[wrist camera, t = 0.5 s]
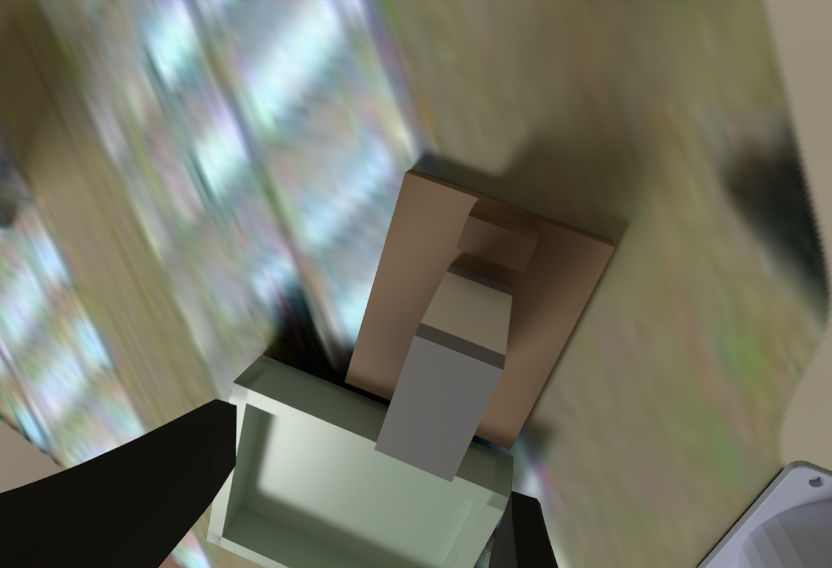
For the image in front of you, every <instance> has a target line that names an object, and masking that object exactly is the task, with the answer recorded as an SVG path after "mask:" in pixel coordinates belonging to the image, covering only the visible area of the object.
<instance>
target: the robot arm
mask: <svg viewBox="0 0 832 568" xmlns="http://www.w3.org/2000/svg"><path fill="white" fill-rule="evenodd" d="M236 436H237V405H234V404H231V403H228V402H225V401H221V400H218V399H215V400H213V401H211V402H209V403H206V404H204V405H202V406H200V407H198V408H196V409H195V410H193V411H191V412H189V413H187V414H185V415H183V416H181V417H179V418H177V419H175V420H173V421H171V422H169V423H167V424H165V425H163V426H161V427H159V428H157V429H155V430H153V431H151V432H149V433H147V434H145V435H143V436H141V437H139V438H137V439H135V440H133V441H131V442H128V443H126V444H124V445H122V446H120V447H117V448H115V449H113V450H111V451H108V452H106V453H104V454H102V455H100V456H97V457H95V458H93V459H91V460H88V461H86V462H84V463H81V464H79V465H77V466H74V467H72V468H69V469H67V470H64V471H62V472H59V473H57V474H54V475H51V476H49V477H46V478H43V479H41V480H38V481H36V482H33V483H30V484H27V485H24V486H21V487H19V488H16V489H12V490H9V491H6V492H3V493H0V568H158V567H159V566H160V565H161V564H162V563H163V561H164V560H165V559H166V558H167V556H168V555H169V554H170V553H171V552H172V550H173V549H174V548H175V547H176V546H177V544H178V543H179V542H180V541H181V540H182V538H183V537H184V536H185V535H186V533H187V532H188V531H189V530H190V529H191V527H192V526H193V525H194V524H195V522H196V521H197V520H198V519H199V518H200V516H201V515H202V514H203V513H204V511H205V510H206V509H207V508H208V506H209V505H210V504H211V503H212V501H213V500H214V498H215V497H216V495H217V494H218V492H219V491H220V489H221V488H222V486H223V485H224V483H225V482H226V480H227V478H228V477H229V475H230V474H231V472H232V470H233V469H234V467H235V466H236ZM813 477H818V478H817V479H815V480H810V479H811V478H813ZM489 568H558V565H557V562H556V559H555V556H554V553H553V549H552V546H551V543H550V540H549V536H548V533H547V529H546V526H545V522H544V518H543V514H542V510H541V505H540V503H539V501H538V500H537V499H536V498H533V497H530V496H526V495H523V494H520V493H517V492H513V491H511V493H510V496H509V499H508V502H507V505H506V508H505V511H504V514H503V517H502V520H501V523H500V526H499V529H498V532H497V535H496V538H495V540H494V543H493V546H492V549H491V556H490V562H489ZM698 568H832V471H830V470H827V469H824V468H822V467H819V466H817V465H814V464H812V463H809V462H806V461H794V462H792V463H790V464H789V465H787V466H786V467H785V468H784V470H783V471H782V472H781V473H780V474H779V475H778V476H777V478H776V479H775V480H774V481H773V482H772V483H771V484H770V486H769V487H768V488H767V489H766V490H765V491H764V492H763V494H762V495H761V496H760V497H759V498H758V499H757V500H756V502H755V503H754V504H753V505H752V506H751V507H750V508H749V510H748V511H747V512H746V513H745V514H744V515H743V516H742V518H741V519H740V520H739V521H738V522H737V523H736V524H735V526H734V527H733V528H732V529H731V530H730V531H729V532H728V534H727V535H726V536H725V537H724V538H723V539H722V540H721V542H720V543H719V544H718V545H717V546H716V547H715V548H714V550H713V551H712V552H711V553H710V554H709V555H708V556H707V558H706V559H705V560H704V561H703V562H702V563H701V564H700V566H699V567H698Z"/></svg>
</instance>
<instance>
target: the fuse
mask: <svg viewBox="0 0 832 568" xmlns="http://www.w3.org/2000/svg"><path fill="white" fill-rule="evenodd" d="M512 295H513V288H512V287H509V286H506V285H504V284H501V283H498V282H496V281H493V280H490V279H488V278H485V277H482V276H480V275H477V274H474V273H472V272H469V271H466V270H464V269H461V268H458V267H456V266H453V265H449V267H448V269H447V271H446V273H445V275H444V277H443V279H442V281H441V283H440V285H439V287H438V289H437V291H436V293H435V295H434V297H433V299H432V301H431V303H430V305H429V307H428V309H427V311H426V313H425V315H424V317H423V319H422V321H421V323H420V325H419V327H418V329H417V331H416V333H415V334H414V337H413V340H412V343H411V346H410V349H409V351H408V354H407V357H406V360H405V363H404V366H403V369H402V371H401V374H400V377H399V380H398V383H397V386H396V388H395V391H394V394H393V397H392V400H391V403H390V406H389V408H388V411H387V414H386V417H385V420H384V423H383V426H382V428H381V431H380V434H379V437H378V440H377V443H376V446H375V448H374V450H376V451H378V452H381V453H383V454H385V455H388V456H390V457H392V458H395V459H397V460H400V461H402V462H404V463H407V464H409V465H411V466H414V467H416V468H419V469H421V470H423V471H426V472H428V473H430V474H433V475H435V476H438V477H440V478H442V479H445V480H447V481H449V482H452V481H453V479H454V477H455V474H456V472H457V470H458V468H459V466H460V464H461V462H462V459H463V457H464V455H465V453H466V451H467V449H468V447H469V444H470V442H471V440H472V438H473V436H474V434H475V431H476V429H477V427H478V425H479V423H480V421H481V419H482V416H483V414H484V412H485V410H486V408H487V406H488V403H489V401H490V399H491V397H492V395H493V393H494V391H495V388H496V386H497V384H498V382H499V380H500V378H501V376H502V373H503V371H504V366H505V357H506V348H507V339H508V330H509V322H510V313H511V304H512Z"/></svg>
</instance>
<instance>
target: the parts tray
mask: <svg viewBox="0 0 832 568" xmlns="http://www.w3.org/2000/svg"><path fill="white" fill-rule="evenodd" d="M229 403H231V404H234V405H237V436H236V466H235V467H234V469H233V470H232V472H231V474H230V475H229V477H228V478H227V480H226V482H225V483H224V485H223V486H222V488H221V489H220V491H219V492H218V494H217V495H216V497H215V498H214V500H213V505H212V511H211V517H210V523H209V530H208V536H207V541H209V542H211V543H213V544H216V545H218V546H220V547H222V548H224V549H226V550H229V551H231V552H233V553H235V554H237V555H240V556H242V557H244V558H246V559H248V560H251V561H253V562H255V563H257V564H259V565H262V566H264V567H266V568H473V567H474V565H475V563H476V561H477V560H478V558H479V556H480V554H481V552H482V551H483V549H484V547H485V545H486V543H487V542H488V540H489V538H490V536H491V534H492V533H493V531H494V529H495V527H496V525H497V523H498V522H499V520H500V518H501V516H502V514H503V513H504V511H505V508H506V505H507V502H508V499H509V496H510V493H511V490H512V474H513V457H511V456H508V455H506V454H503V453H501V452H499V451H496V450H494V449H491V448H489V447H486V446H484V445H481V444H479V443H477V442H474V441H472V440H471V442H470V444H469V447H468V449H467V451H466V453H465V455H464V457H463V459H462V462H461V464H460V466H459V468H458V470H457V472H456V474H455V477H454V479H453V481H452V482H449V481H447V480H445V479H442V478H440V477H438V476H435V475H433V474H430V473H428V472H426V471H423V470H421V469H419V468H416V467H414V466H411V465H409V464H407V463H404V462H402V461H400V460H397V459H395V458H392V457H390V456H388V455H385V454H383V453H381V452H378V451H376V450H374V448H375V446H376V443H377V440H378V437H379V434H380V431H381V428H382V426H383V423H384V420H385V417H386V414H387V411H388V408H389V406H386V405H384V404H382V403H379V402H377V401H374V400H372V399H369V398H367V397H364V396H362V395H360V394H357V393H355V392H352V391H350V390H347V389H345V388H343V387H340V386H338V385H335V384H333V383H330V382H328V381H326V380H323V379H321V378H318V377H316V376H313V375H311V374H308V373H306V372H304V371H301V370H299V369H296V368H294V367H291V366H289V365H287V364H284V363H282V362H279V361H277V360H274V359H272V358H269V357H267V356H265V355H261V356H260V357H259V358H258V359H257V360H256V361H255V362H254V363H252V364H251V365H250V366H249V367H248V368H247V369H246V370H245V371H244V372H243V373H242V374H241V375H240V376H239V377H238V378H237V379H236V380H235V381H233V383H232V389H231V395H230V401H229Z"/></svg>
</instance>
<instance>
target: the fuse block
mask: <svg viewBox="0 0 832 568" xmlns="http://www.w3.org/2000/svg"><path fill="white" fill-rule="evenodd" d="M614 249H615V246H614V244H613V242H612V241H610V240H607V239H605V238H602V237H599V236H596V235H593V234H591V233H588V232H585V231H582V230H580V229H577V228H574V227H571V226H568V225H566V224H563V223H560V222H557V221H554V220H552V219H549V218H546V217H543V216H540V215H538V214H535V213H532V212H529V211H527V210H524V209H521V208H518V207H515V206H513V205H510V204H507V203H504V202H501V201H499V200H496V199H493V198H490V197H487V196H485V195H482V194H479V193H476V192H474V191H471V190H468V189H465V188H462V187H460V186H457V185H454V184H451V183H448V182H446V181H443V180H440V179H437V178H434V177H432V176H429V175H426V174H423V173H421V172H418V171H415V170H412V169H410V170H408V171H407V172H405V176H404V179H403V183H402V186H401V190H400V193H399V197H398V200H397V203H396V207H395V210H394V214H393V217H392V221H391V224H390V228H389V231H388V234H387V238H386V241H385V245H384V248H383V252H382V255H381V259H380V262H379V265H378V269H377V272H376V276H375V279H374V283H373V286H372V290H371V293H370V296H369V300H368V303H367V307H366V310H365V314H364V317H363V321H362V324H361V327H360V331H359V334H358V338H357V341H356V345H355V348H354V352H353V355H352V358H351V362H350V365H349V369H348V372H347V376H346V379H345V382H346V383H349V384H351V385H353V386H356V387H358V388H361V389H363V390H366V391H368V392H371V393H373V394H375V395H378V396H380V397H383V398H385V399H388V400H390V401H391V400H392V397H393V394H394V391H395V388H396V386H397V383H398V380H399V377H400V374H401V371H402V369H403V366H404V363H405V360H406V357H407V354H408V351H409V349H410V346H411V343H412V340H413V337H414V334H415V333H416V331H417V329H418V327H419V325H420V323H421V321H422V319H423V317H424V315H425V313H426V311H427V309H428V307H429V305H430V303H431V301H432V299H433V297H434V295H435V293H436V291H437V289H438V287H439V285H440V283H441V281H442V279H443V277H444V275H445V273H446V271H447V269H448V267H449V265H453V266H456V267H458V268H461V269H464V270H466V271H469V272H472V273H474V274H477V275H480V276H482V277H485V278H488V279H490V280H493V281H496V282H498V283H501V284H504V285H506V286H509V287H512V288H513V295H512V304H511V313H510V322H509V330H508V339H507V348H506V357H505V366H504V371H503V373H502V376H501V378H500V380H499V382H498V384H497V386H496V388H495V391H494V393H493V395H492V397H491V399H490V401H489V403H488V406H487V408H486V410H485V412H484V414H483V416H482V419H481V421H480V423H479V425H478V427H477V429H476V431H475V434H474V435H476V436H478V437H481V438H483V439H485V440H488V441H490V442H493V443H495V444H498V445H500V446H503V447H505V448H507V449H510V450H511V448H512V446H513V444H514V442H515V440H516V438H517V436H518V434H519V432H520V430H521V428H522V426H523V424H524V423H525V421H526V419H527V417H528V415H529V413H530V411H531V409H532V407H533V405H534V403H535V401H536V399H537V397H538V396H539V394H540V392H541V390H542V388H543V386H544V384H545V382H546V380H547V378H548V376H549V374H550V372H551V370H552V369H553V367H554V365H555V363H556V361H557V359H558V357H559V355H560V353H561V351H562V349H563V347H564V345H565V343H566V341H567V340H568V338H569V336H570V334H571V332H572V330H573V328H574V326H575V324H576V322H577V320H578V318H579V316H580V314H581V313H582V311H583V309H584V307H585V305H586V303H587V301H588V299H589V297H590V295H591V293H592V291H593V289H594V287H595V286H596V284H597V282H598V280H599V278H600V276H601V274H602V272H603V270H604V268H605V266H606V264H607V262H608V260H609V258H610V257H611V255H612V253H613V251H614Z"/></svg>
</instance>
